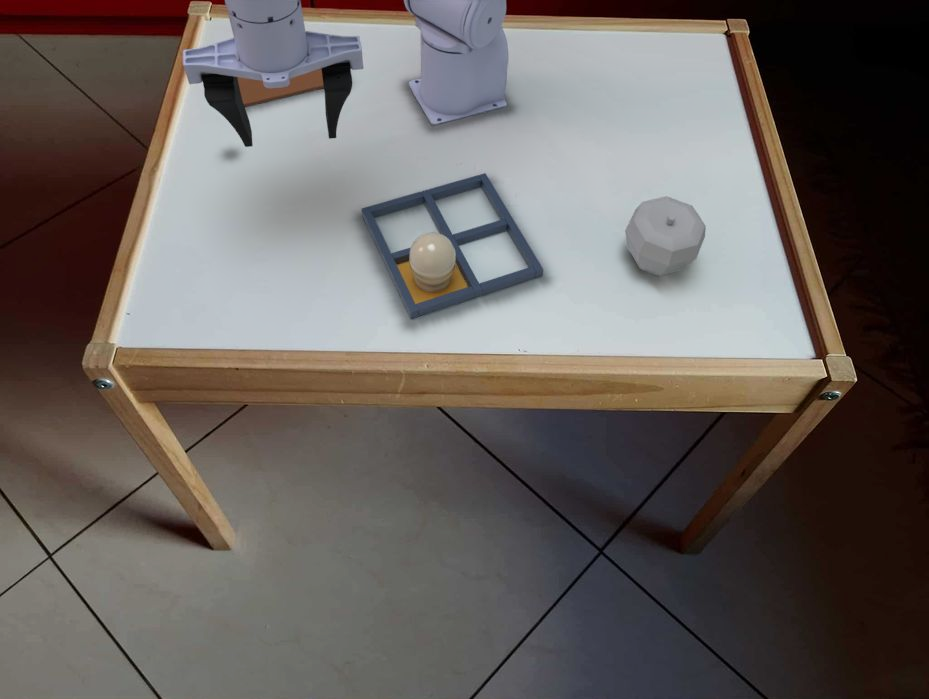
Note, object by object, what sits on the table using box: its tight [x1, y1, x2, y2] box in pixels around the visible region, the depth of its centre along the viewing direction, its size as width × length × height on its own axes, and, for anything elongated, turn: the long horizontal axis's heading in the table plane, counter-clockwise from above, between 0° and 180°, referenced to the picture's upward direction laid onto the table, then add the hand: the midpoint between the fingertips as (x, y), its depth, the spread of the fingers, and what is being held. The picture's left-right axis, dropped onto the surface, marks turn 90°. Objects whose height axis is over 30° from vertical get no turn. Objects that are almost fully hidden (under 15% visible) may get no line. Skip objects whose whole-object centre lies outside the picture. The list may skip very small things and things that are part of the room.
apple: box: [624, 195, 707, 277], centre depth 74 cm, size 8×8×7 cm
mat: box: [237, 68, 324, 108], centre depth 90 cm, size 12×8×1 cm, turn 113°
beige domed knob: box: [409, 231, 456, 293], centre depth 71 cm, size 4×4×6 cm
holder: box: [360, 172, 544, 320], centre depth 76 cm, size 14×14×2 cm
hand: (290, 135), depth 70 cm, fingers open, 7 cm apart
